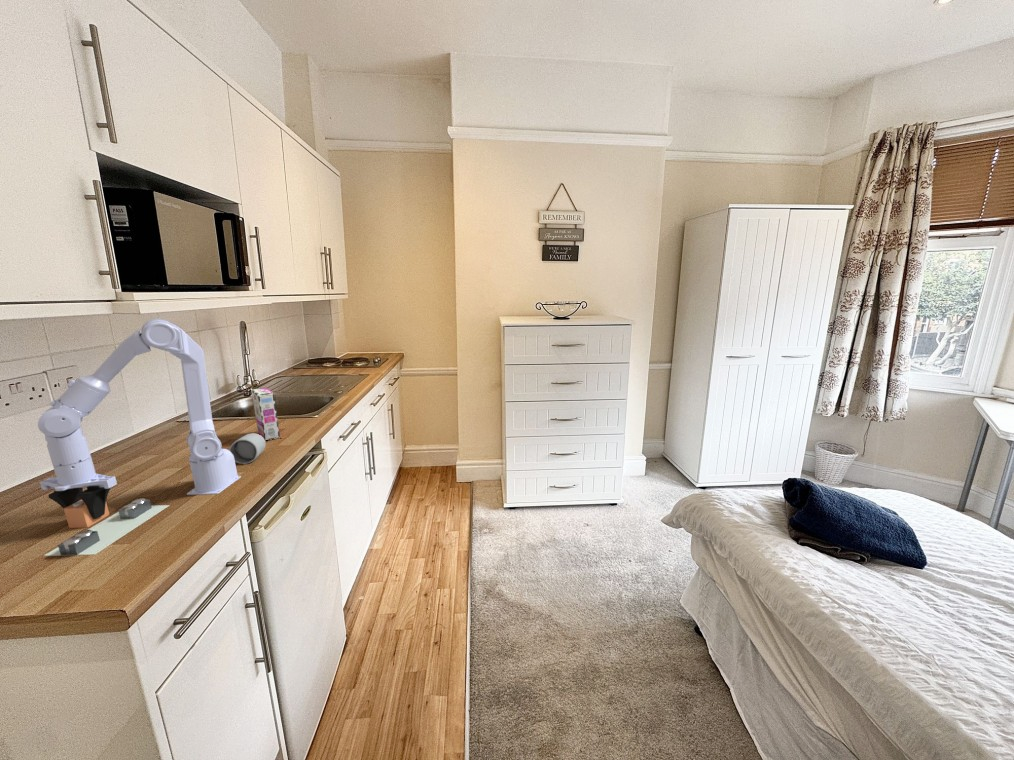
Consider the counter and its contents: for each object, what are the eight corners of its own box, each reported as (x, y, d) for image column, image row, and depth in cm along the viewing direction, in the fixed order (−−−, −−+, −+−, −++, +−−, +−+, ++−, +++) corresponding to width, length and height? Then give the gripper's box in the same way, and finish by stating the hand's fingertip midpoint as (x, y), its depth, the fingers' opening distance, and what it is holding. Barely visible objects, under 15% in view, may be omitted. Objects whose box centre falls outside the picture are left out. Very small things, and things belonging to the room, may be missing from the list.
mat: (128, 507, 96) (127, 506, 96) (170, 506, 96) (169, 505, 96) (44, 557, 78) (43, 555, 78) (95, 556, 78) (94, 554, 78)
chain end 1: (84, 540, 83) (81, 530, 82) (100, 540, 83) (97, 529, 82) (60, 555, 78) (57, 544, 77) (77, 554, 78) (73, 543, 77)
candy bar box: (281, 437, 139) (274, 392, 135) (265, 441, 136) (257, 395, 132) (273, 430, 147) (266, 386, 143) (257, 433, 144) (250, 389, 140)
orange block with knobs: (92, 516, 92) (86, 494, 91) (110, 516, 92) (103, 494, 91) (69, 529, 87) (62, 506, 86) (88, 528, 87) (81, 505, 86)
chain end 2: (138, 508, 95) (136, 498, 94) (152, 507, 95) (149, 498, 94) (120, 519, 90) (117, 509, 90) (134, 518, 90) (131, 508, 90)
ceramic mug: (269, 451, 127) (264, 429, 125) (259, 462, 119) (254, 438, 118) (232, 456, 125) (227, 433, 123) (219, 467, 117) (214, 442, 115)
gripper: (16, 469, 83) (35, 528, 86) (87, 467, 83) (103, 526, 86) (54, 455, 89) (70, 510, 92) (119, 453, 89) (133, 508, 93)
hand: (88, 516), depth 90 cm, fingers closed on orange block with knobs, 4 cm apart
